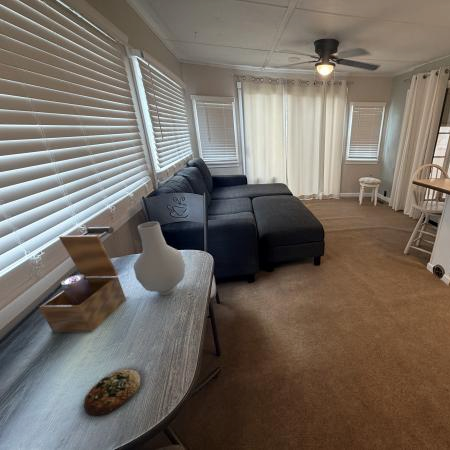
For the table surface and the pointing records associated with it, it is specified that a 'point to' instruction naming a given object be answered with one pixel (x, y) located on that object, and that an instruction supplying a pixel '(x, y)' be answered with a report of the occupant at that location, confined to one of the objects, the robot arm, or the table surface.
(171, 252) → the vase
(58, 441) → the table surface
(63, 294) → the chest
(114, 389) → the bread roll
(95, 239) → the chest lid
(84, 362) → the table surface
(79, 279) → the beverage can
